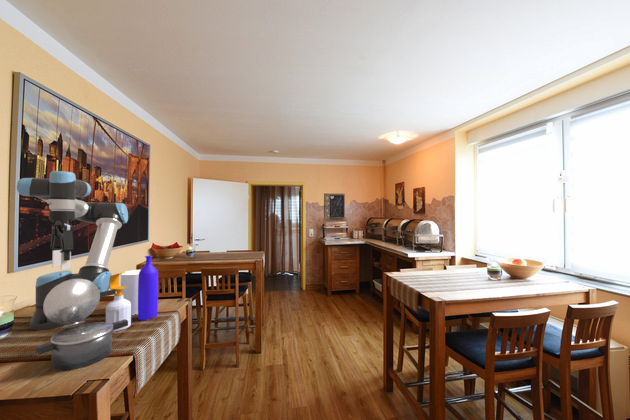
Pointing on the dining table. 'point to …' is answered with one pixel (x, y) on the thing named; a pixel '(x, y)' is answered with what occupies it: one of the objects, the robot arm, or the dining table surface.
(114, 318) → the soap bottle
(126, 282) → the canister
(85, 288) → the lid
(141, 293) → the bottle
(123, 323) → the pot
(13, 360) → the dining table surface
